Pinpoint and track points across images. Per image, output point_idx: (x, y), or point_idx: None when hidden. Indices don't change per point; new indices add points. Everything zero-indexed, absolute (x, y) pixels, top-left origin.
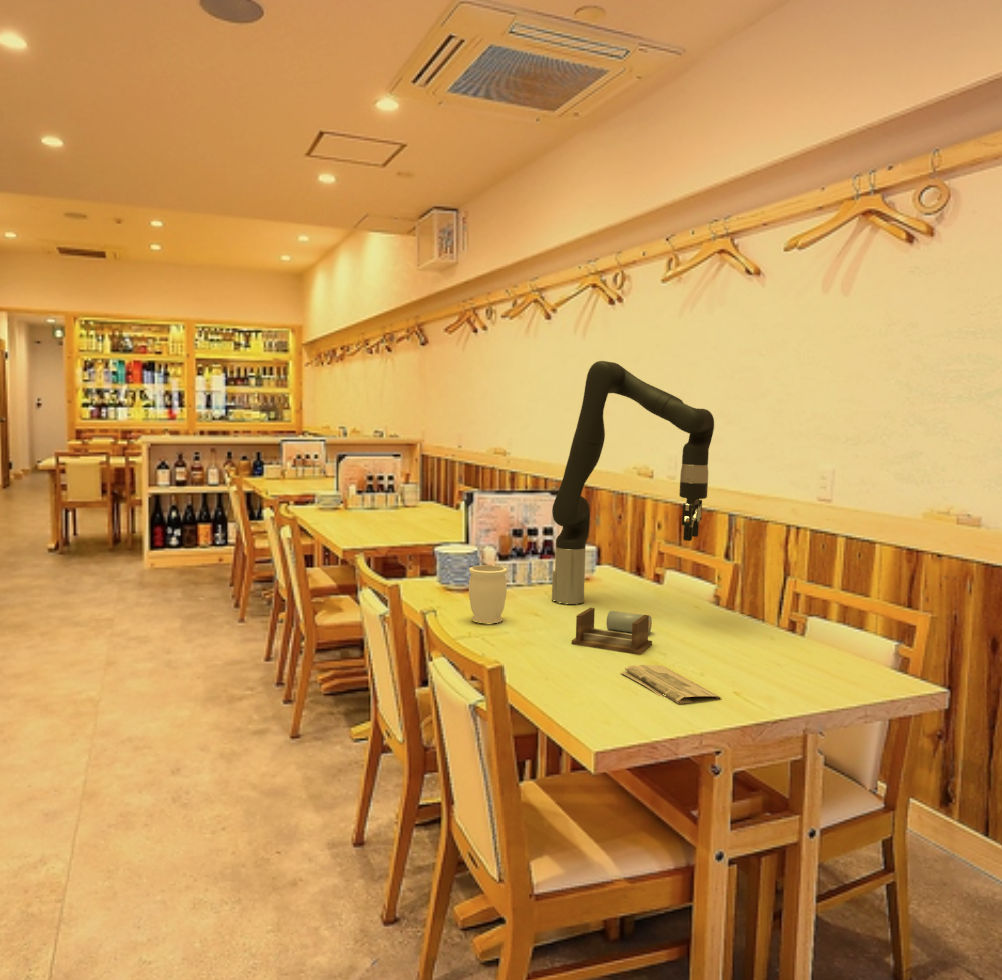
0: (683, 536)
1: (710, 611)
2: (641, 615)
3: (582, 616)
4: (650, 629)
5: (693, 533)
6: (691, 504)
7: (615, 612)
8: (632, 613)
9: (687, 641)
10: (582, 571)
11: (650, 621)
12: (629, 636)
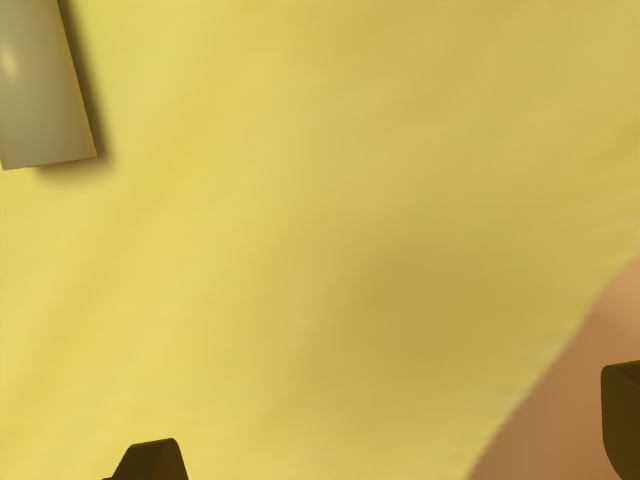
0: (112, 476)
1: (596, 209)
2: (10, 130)
3: None
4: (89, 157)
5: (633, 432)
6: None
7: None
8: (12, 75)
9: (96, 311)
10: None
11: (67, 160)
12: None
